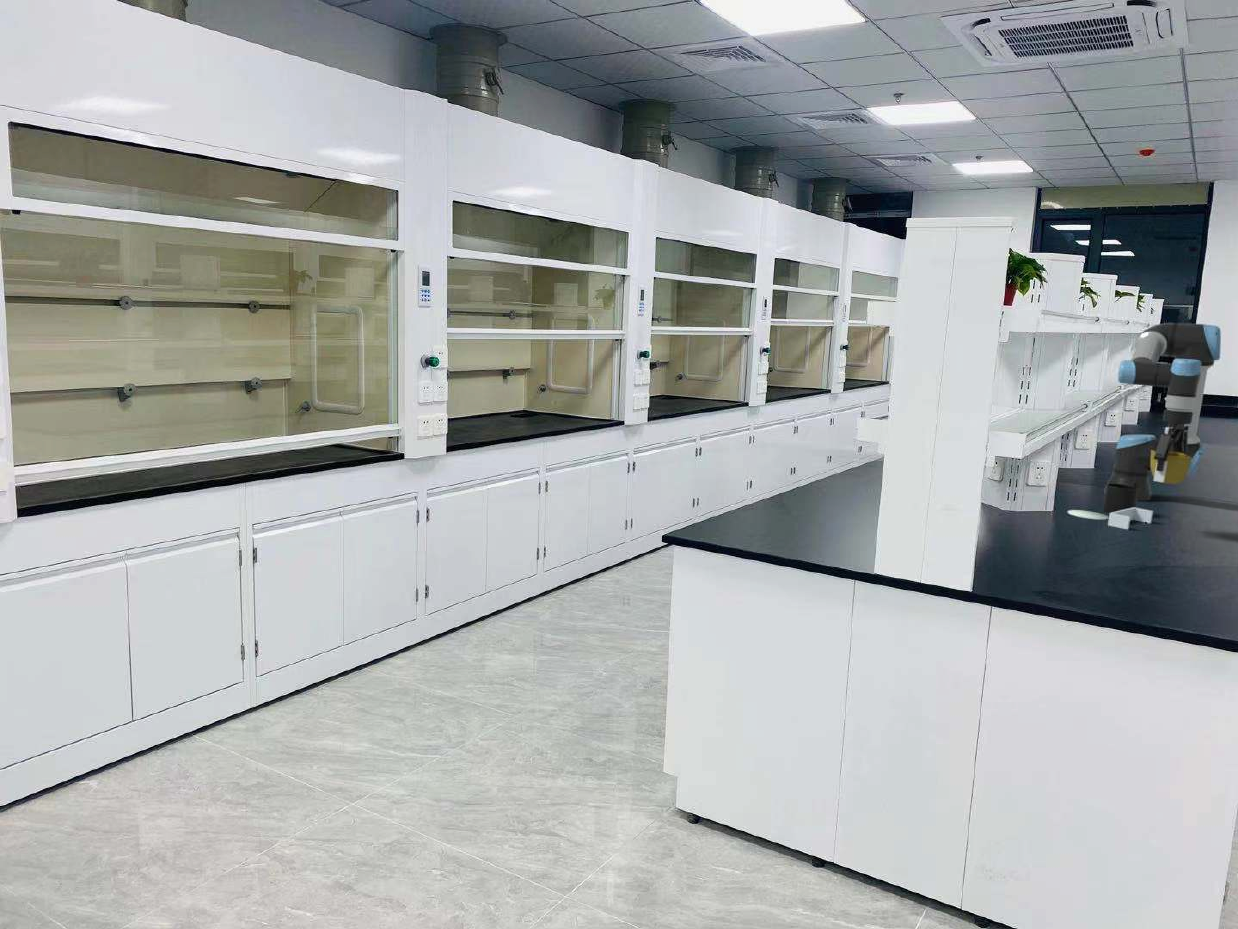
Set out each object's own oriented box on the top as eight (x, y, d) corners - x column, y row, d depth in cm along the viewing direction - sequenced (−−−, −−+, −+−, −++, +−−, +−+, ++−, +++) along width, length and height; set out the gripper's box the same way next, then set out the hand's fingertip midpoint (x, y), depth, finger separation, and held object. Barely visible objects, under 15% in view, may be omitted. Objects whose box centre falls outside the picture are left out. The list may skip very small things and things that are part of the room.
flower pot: (1187, 486, 270) (1193, 457, 268) (1156, 483, 272) (1161, 454, 270) (1176, 480, 278) (1181, 452, 277) (1145, 478, 280) (1150, 450, 278)
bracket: (1132, 519, 291) (1133, 507, 290) (1151, 523, 286) (1153, 511, 286) (1107, 525, 280) (1109, 512, 279) (1127, 529, 275) (1129, 516, 274)
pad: (1077, 509, 301) (1077, 508, 301) (1114, 517, 292) (1115, 516, 292) (1061, 513, 294) (1061, 512, 294) (1098, 521, 285) (1098, 520, 285)
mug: (1141, 513, 302) (1145, 487, 300) (1128, 517, 294) (1132, 490, 292) (1111, 507, 309) (1115, 481, 307) (1098, 511, 301) (1102, 485, 299)
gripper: (1180, 407, 281) (1168, 474, 285) (1149, 409, 266) (1137, 480, 270) (1207, 410, 275) (1195, 478, 279) (1176, 413, 260) (1164, 485, 264)
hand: (1166, 479), depth 275 cm, fingers closed on flower pot, 12 cm apart
